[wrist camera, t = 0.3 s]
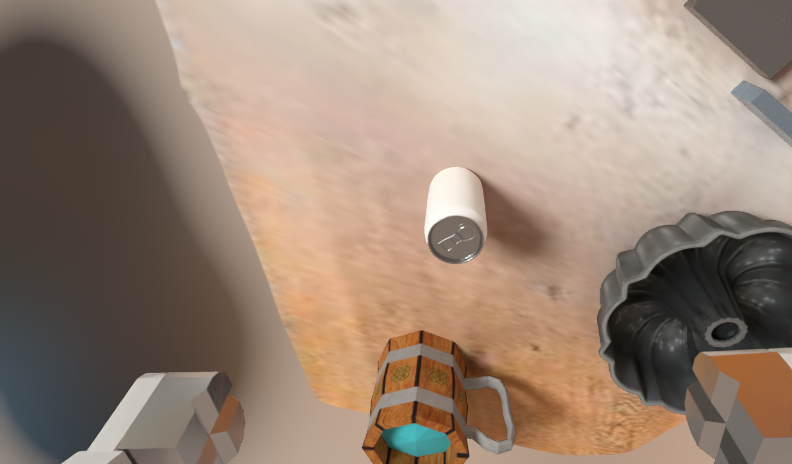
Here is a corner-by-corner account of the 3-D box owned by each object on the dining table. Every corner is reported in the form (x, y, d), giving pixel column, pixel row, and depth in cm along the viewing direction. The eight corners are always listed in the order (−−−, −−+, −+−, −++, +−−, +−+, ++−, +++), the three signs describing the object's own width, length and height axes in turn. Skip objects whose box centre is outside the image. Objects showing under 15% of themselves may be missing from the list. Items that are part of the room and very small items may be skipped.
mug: (380, 392, 77) (365, 480, 64) (375, 328, 71) (357, 411, 58) (504, 400, 75) (514, 493, 62) (512, 334, 69) (525, 422, 56)
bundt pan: (752, 140, 52) (811, 176, 43) (842, 297, 60) (907, 354, 51) (540, 264, 62) (554, 313, 54) (642, 384, 71) (668, 443, 62)
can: (493, 193, 58) (501, 244, 48) (452, 223, 61) (451, 278, 50) (459, 154, 56) (460, 199, 46) (418, 187, 59) (410, 236, 48)
